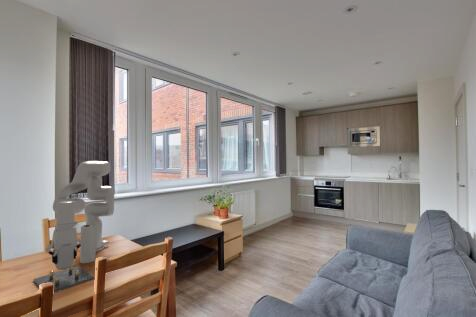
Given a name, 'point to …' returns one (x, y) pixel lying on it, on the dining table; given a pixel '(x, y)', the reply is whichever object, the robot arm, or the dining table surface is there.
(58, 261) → the can
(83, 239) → the paper towel roll
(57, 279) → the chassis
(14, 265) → the dining table surface
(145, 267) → the dining table surface
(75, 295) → the dining table surface
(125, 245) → the dining table surface
